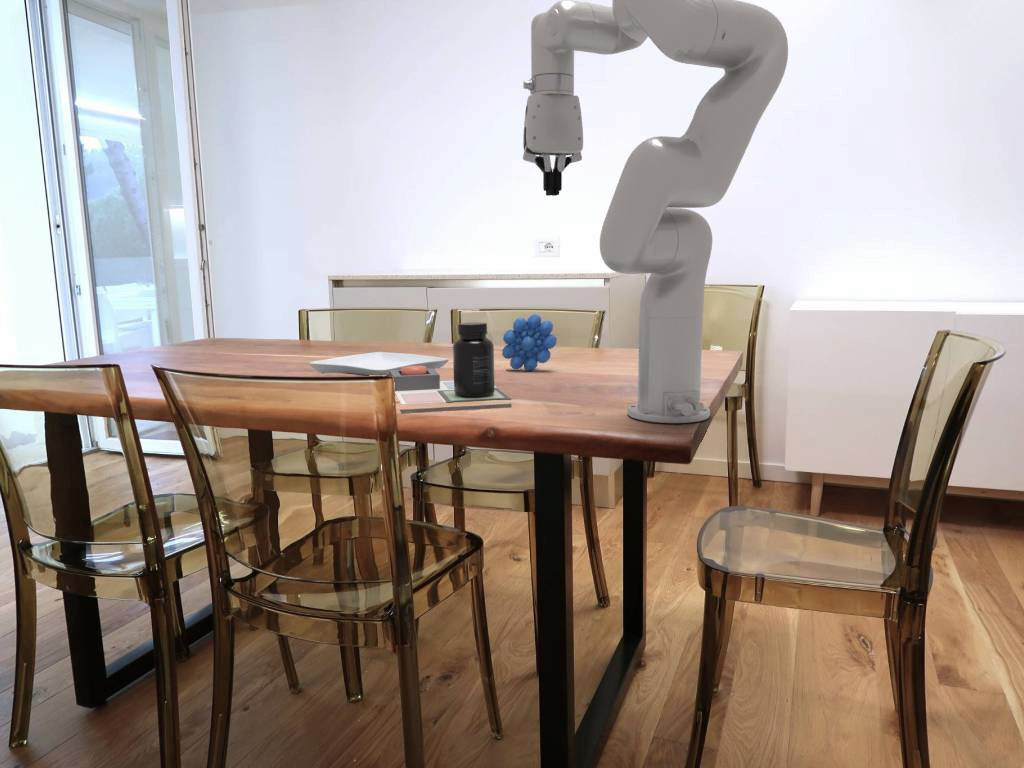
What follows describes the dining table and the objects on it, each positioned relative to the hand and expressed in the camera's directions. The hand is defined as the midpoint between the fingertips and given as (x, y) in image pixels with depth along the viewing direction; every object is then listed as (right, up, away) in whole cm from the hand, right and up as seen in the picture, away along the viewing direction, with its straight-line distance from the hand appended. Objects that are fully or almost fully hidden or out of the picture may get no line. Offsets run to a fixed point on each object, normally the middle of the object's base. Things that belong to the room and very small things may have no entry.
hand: (552, 195), depth 149 cm
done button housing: (-25, -35, -1) cm, 42 cm away
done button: (-25, -33, -1) cm, 41 cm away
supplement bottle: (-14, -36, -10) cm, 40 cm away
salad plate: (-35, -32, +23) cm, 53 cm away
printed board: (-19, -37, -5) cm, 41 cm away
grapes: (-4, -31, +26) cm, 41 cm away
